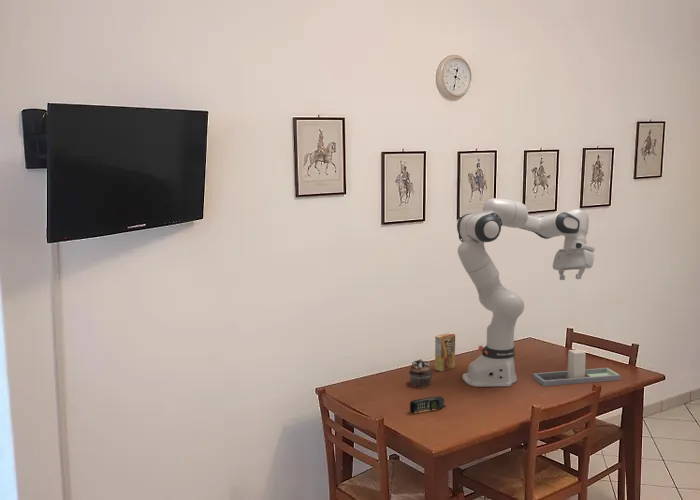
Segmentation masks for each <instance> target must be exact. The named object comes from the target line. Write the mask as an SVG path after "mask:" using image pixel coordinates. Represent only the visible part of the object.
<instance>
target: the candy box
mask: <svg viewBox="0 0 700 500" xmlns="http://www.w3.org/2000/svg"><path fill="white" fill-rule="evenodd" d="M434 337H435V339H434V340H435V344H434V346H435V347H434V349H435V351H434V352H435V353H434V357H435V358H434V370H435V371H439V372H445V371H448V370H451V369H454V368H456V334H455V333H452V332H447V333H444V334H443V333H442V334H438V335H435V336H434Z"/></svg>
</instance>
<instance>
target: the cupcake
mask: <svg viewBox="0 0 700 500" xmlns="http://www.w3.org/2000/svg"><path fill="white" fill-rule="evenodd" d="M408 373H409V374H408V375H409V379H410V384H412V385H413V386H412V385H411V386H412V387H414V386H416V387H415V388H417V387H425V388H428V387H427V386H429V385H430V386H431V383H432V376H433V372H432V370H431V367H430V363H429V362H428V361H427V360H422V359H418V360H414V361H412V362H411V366H410V368H409V372H408ZM430 386H429V387H430Z"/></svg>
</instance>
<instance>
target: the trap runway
mask: <svg viewBox="0 0 700 500" xmlns="http://www.w3.org/2000/svg"><path fill="white" fill-rule="evenodd" d="M532 379H533V380H535V382H537V383H539V384H540V385H541V386H543V387H548V386H549V387H551V386H561V385H562V386H563V385H565V386H566V385H574V384H576V385H577V384H588V383H596V382H597V383H599V382H611V381H612V382H613V381H621V375H620V374H619V373H617V372H616V371H614V370H612V369H610V368H609V367H599V368H585V377H582V378H570V379H569V378H568V370H561V371H551V372H550V371H549V372H537V373H536V372H535V373H532Z"/></svg>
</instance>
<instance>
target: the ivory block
mask: <svg viewBox="0 0 700 500" xmlns="http://www.w3.org/2000/svg"><path fill="white" fill-rule="evenodd" d="M567 354H568V355H567V356H568V357H567V358H568V359H567V371H568V376H567V377H568V378H569V379H570V378H582V377H586V375H585V369H586V356H587V354H586V352H585V351H583V350H582V349H579V348H578V349H569V350H568V353H567Z"/></svg>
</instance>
